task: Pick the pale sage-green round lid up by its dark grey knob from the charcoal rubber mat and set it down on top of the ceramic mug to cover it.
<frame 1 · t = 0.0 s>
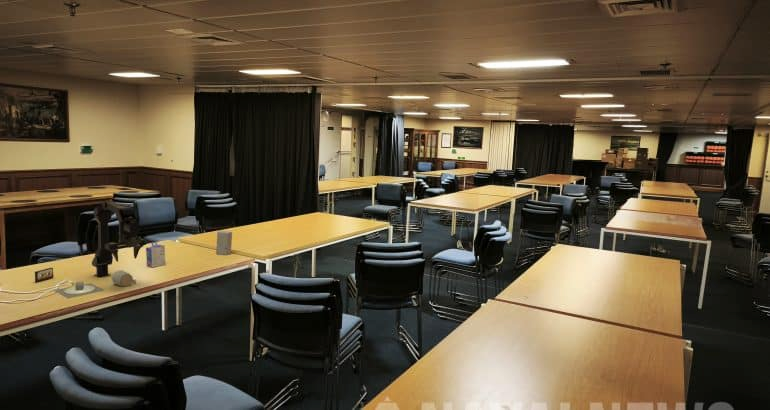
hand: (126, 260, 245), 15 cm above the table, tool pointing down, fingers open, 9 cm apart
skincare box: (224, 253, 325), on the table
rubber mat: (79, 291, 237), on the table
audio cassette: (44, 280, 251), on the table
ink cartridge box: (156, 265, 289), on the table
round lid: (79, 290, 237), resting on rubber mat
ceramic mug: (125, 285, 251), on the table
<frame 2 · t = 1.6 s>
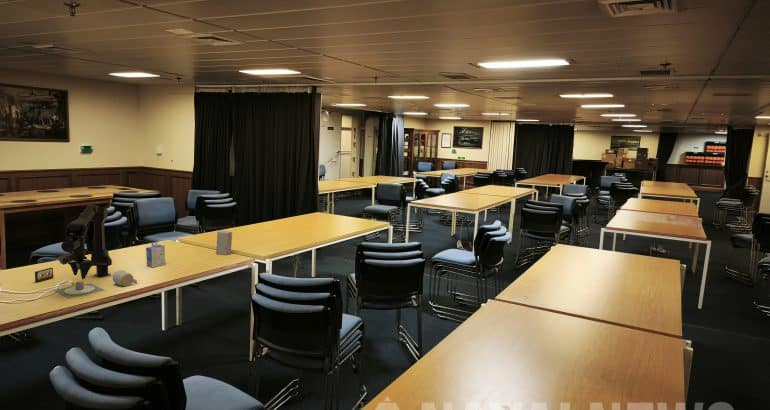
hand: (79, 277, 237), 7 cm above the table, tool pointing down, fingers open, 9 cm apart
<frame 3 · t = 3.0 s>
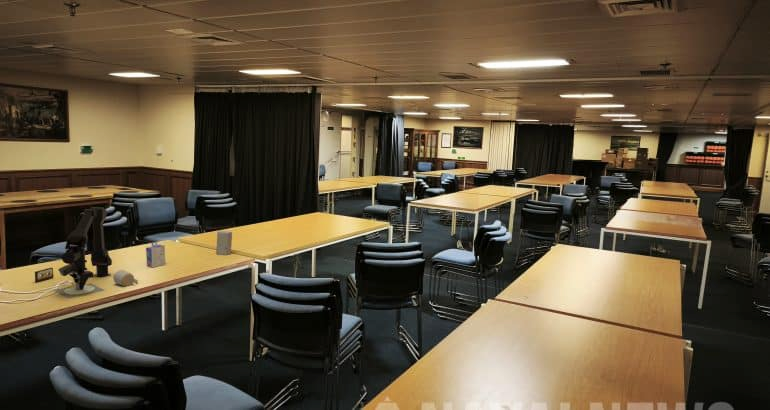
hand: (79, 288, 237), 2 cm above the table, tool pointing down, fingers closed on round lid, 4 cm apart
round lid: (79, 290, 237), resting on rubber mat, touching gripper
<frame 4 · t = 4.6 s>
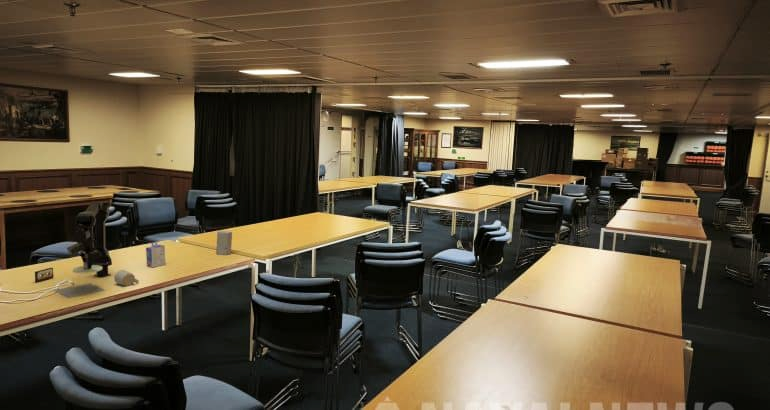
hand: (87, 267, 238), 12 cm above the table, tool pointing down, fingers closed on round lid, 4 cm apart
round lid: (87, 269, 239), point 11 cm above the table, touching gripper
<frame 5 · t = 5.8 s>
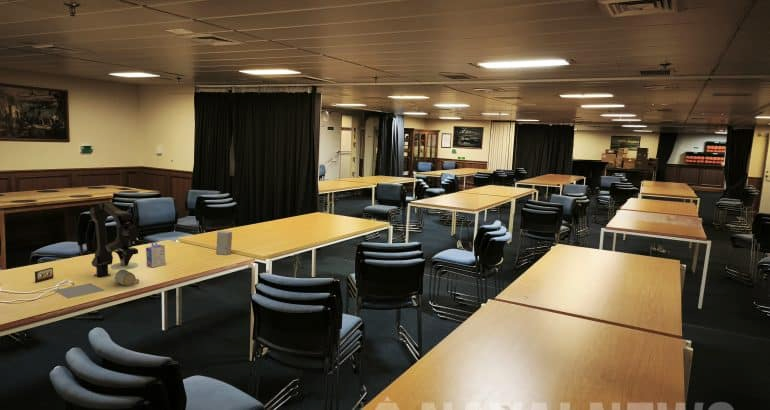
hand: (124, 264, 249), 11 cm above the table, tool pointing down, fingers closed on round lid, 4 cm apart
round lid: (124, 266, 249), point 10 cm above the table, touching gripper
when the fingers open (10 cm above the table, at t = 6.6 s): round lid drops 1 cm, resting on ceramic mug.
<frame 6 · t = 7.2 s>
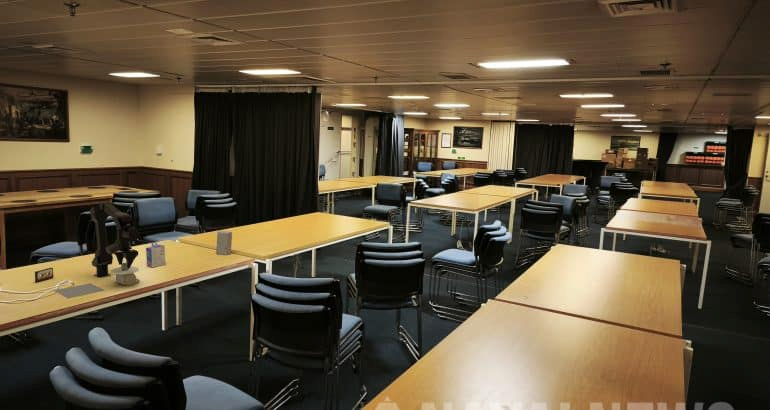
hand: (124, 266, 249), 10 cm above the table, tool pointing down, fingers open, 9 cm apart
round lid: (125, 270, 250), point 8 cm above the table, touching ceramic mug
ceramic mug: (128, 284, 253), on the table, touching round lid
everything else where it was.
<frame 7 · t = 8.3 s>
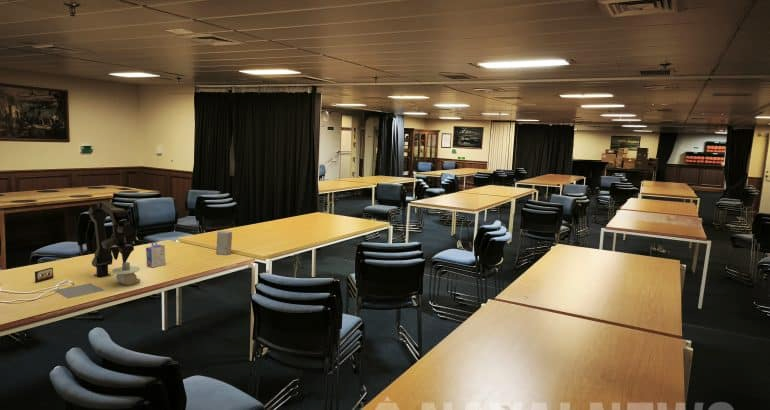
hand: (120, 261, 249), 13 cm above the table, tool pointing down, fingers open, 9 cm apart
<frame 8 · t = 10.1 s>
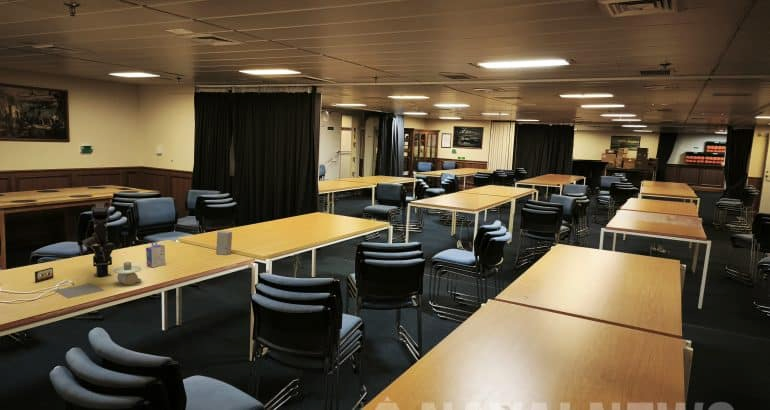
hand: (101, 260, 249), 13 cm above the table, tool pointing down, fingers open, 9 cm apart
at the end: round lid point 7.6 cm above the table; round lid 1.2 cm from the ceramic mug (horizontally); the gripper is holding nothing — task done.
